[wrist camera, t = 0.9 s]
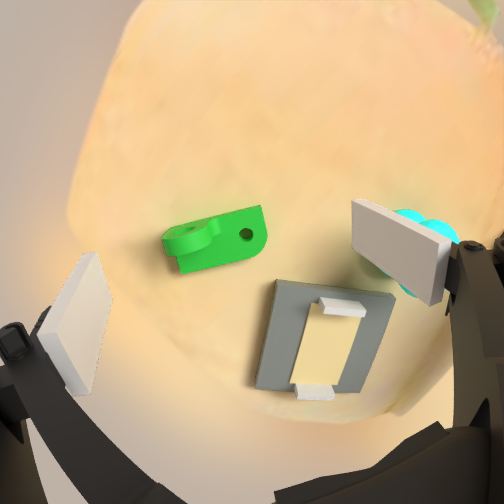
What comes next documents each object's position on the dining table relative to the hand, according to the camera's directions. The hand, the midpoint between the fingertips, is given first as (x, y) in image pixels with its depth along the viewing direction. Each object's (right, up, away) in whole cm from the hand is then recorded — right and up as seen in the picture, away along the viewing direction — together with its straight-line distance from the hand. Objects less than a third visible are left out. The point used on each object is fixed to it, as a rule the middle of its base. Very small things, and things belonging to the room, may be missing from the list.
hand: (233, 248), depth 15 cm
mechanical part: (-3, +2, +26) cm, 27 cm away
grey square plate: (+12, -14, +31) cm, 36 cm away
